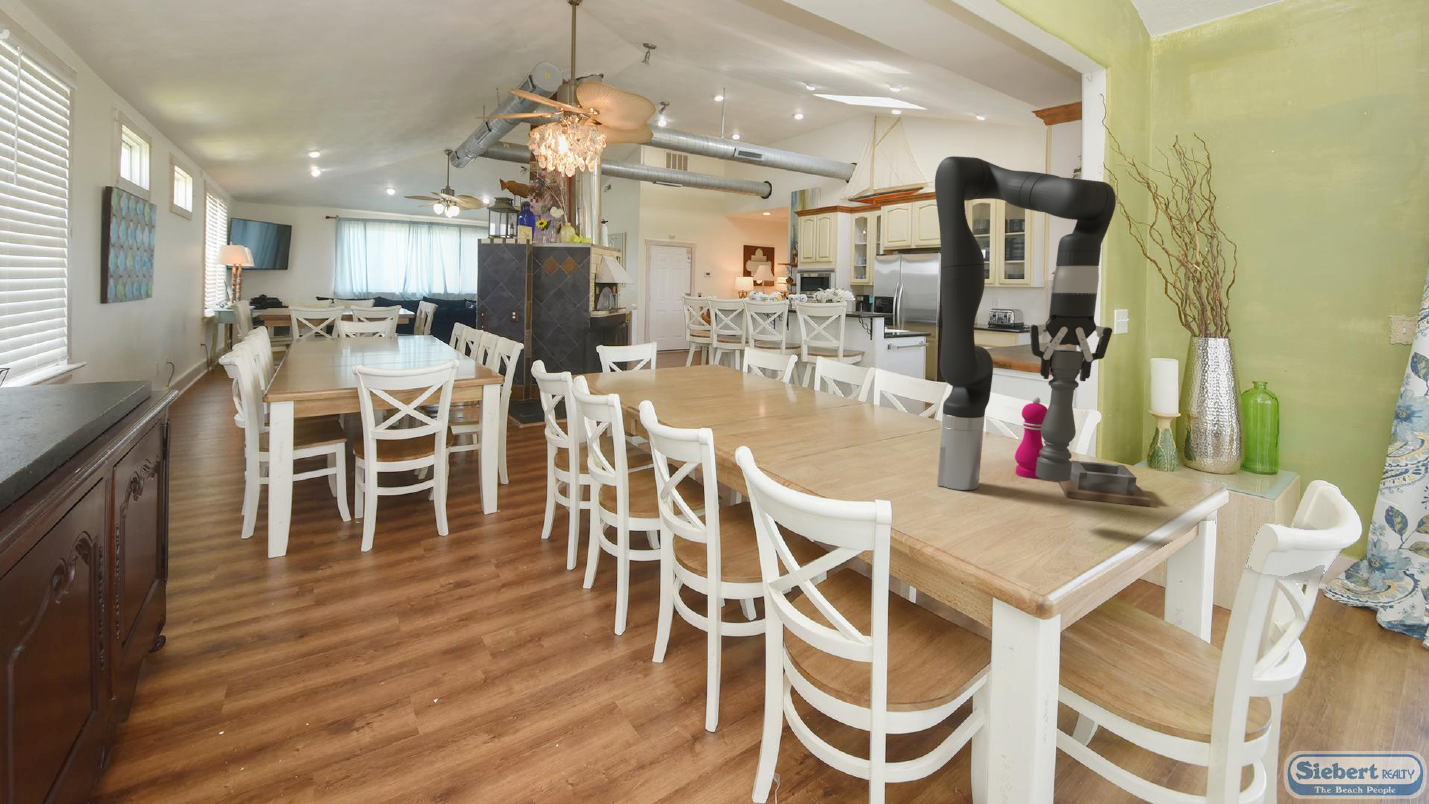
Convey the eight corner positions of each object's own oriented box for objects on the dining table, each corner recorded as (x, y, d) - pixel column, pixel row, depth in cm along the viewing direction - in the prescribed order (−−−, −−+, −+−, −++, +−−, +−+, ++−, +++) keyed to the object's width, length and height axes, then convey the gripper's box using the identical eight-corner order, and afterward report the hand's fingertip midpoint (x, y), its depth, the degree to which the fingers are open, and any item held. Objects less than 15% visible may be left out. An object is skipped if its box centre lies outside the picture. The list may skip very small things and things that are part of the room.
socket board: (1066, 497, 143) (1069, 474, 142) (1056, 478, 157) (1058, 456, 156) (1149, 506, 137) (1153, 482, 136) (1130, 485, 152) (1133, 463, 151)
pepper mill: (1048, 479, 156) (1057, 400, 153) (1017, 477, 158) (1024, 398, 154) (1040, 471, 163) (1047, 395, 160) (1010, 469, 165) (1017, 394, 161)
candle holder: (1028, 472, 128) (1042, 349, 124) (1058, 472, 129) (1072, 349, 124) (1047, 481, 122) (1061, 352, 118) (1077, 481, 123) (1093, 353, 118)
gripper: (1034, 290, 118) (1024, 380, 121) (1123, 291, 113) (1111, 385, 116) (1029, 290, 125) (1021, 375, 128) (1113, 291, 120) (1102, 379, 123)
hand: (1064, 379), depth 122 cm, fingers closed on candle holder, 5 cm apart
